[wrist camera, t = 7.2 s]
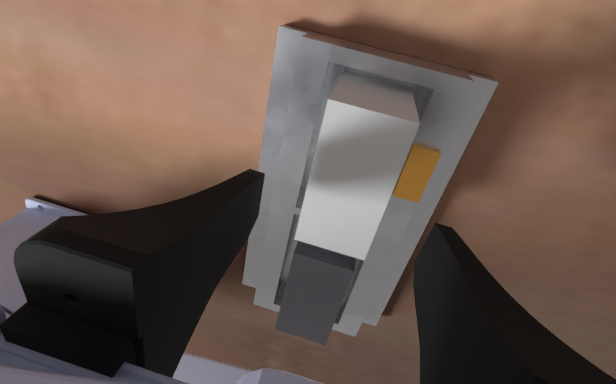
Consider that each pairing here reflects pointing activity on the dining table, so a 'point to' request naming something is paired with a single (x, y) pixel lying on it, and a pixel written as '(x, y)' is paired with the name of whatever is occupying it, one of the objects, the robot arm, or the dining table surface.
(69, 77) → the dining table surface
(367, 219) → the white rectangular block
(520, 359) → the robot arm
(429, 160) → the slotted base
